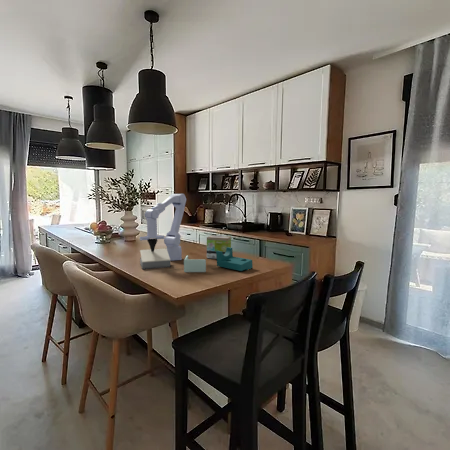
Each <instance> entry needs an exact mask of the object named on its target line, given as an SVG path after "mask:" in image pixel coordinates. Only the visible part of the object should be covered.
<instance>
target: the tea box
mask: <svg viewBox="0 0 450 450" xmlns="http://www.w3.org/2000/svg"><path fill="white" fill-rule="evenodd" d="M227 247H230V248H232V236H228V235H209V236H207V237H206V259H216V260H217V257H216V251H222V252H223V255H224V254H225V252H226V248H227Z"/></svg>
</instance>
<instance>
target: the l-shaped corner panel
mask: <svg viewBox="0 0 450 450" xmlns="http://www.w3.org/2000/svg"><path fill="white" fill-rule="evenodd" d="M206 263H207V258H206V259H205V258H204V259H201V258H200V259H198V258H197V259H196V258H194V259H189V255H186V256H185V258H184V259H183V272H184V273H206V271H207V264H206Z"/></svg>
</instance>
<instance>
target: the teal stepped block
mask: <svg viewBox="0 0 450 450" xmlns="http://www.w3.org/2000/svg"><path fill="white" fill-rule="evenodd" d="M216 257H217V259H216V266H217V267H221V268H226V269H229V270H235V271H239V272H243V271H249V270H248V269H250V270H252V269H253V265H254V264H253V259H250V258H243V257H238V256H234V254H233V247H231V248H230V247H227V248H226V252H225V254H224V255H223V252H222V251H216ZM251 268H252V269H251Z"/></svg>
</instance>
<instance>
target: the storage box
mask: <svg viewBox="0 0 450 450" xmlns="http://www.w3.org/2000/svg"><path fill="white" fill-rule="evenodd" d="M139 260H140V261H139V262H140V263H139V264H140V267H141V270H151V269H152V270H153V269H162V268H170V267H171V261H170V260H168V261H155V262H142V259H141V257H140V259H139Z"/></svg>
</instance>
